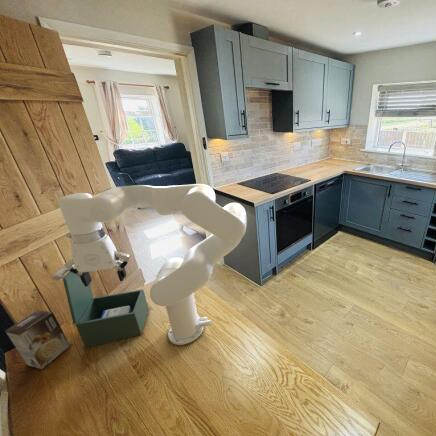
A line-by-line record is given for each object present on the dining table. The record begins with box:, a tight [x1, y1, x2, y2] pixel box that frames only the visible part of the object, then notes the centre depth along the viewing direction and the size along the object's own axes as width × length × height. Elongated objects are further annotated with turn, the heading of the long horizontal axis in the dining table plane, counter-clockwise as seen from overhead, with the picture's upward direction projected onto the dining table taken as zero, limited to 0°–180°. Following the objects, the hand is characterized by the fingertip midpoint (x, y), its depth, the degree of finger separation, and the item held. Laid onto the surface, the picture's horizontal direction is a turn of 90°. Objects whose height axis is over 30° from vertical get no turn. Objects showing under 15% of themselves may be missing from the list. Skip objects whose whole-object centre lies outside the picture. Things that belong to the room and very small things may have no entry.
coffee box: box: [4, 309, 71, 370], centre depth 78 cm, size 9×6×16 cm
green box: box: [75, 288, 150, 348], centre depth 91 cm, size 18×14×11 cm
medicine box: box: [101, 306, 132, 318], centre depth 90 cm, size 8×4×9 cm
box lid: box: [51, 264, 94, 325], centre depth 82 cm, size 18×14×6 cm
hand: (106, 281), depth 78 cm, fingers open, 9 cm apart
